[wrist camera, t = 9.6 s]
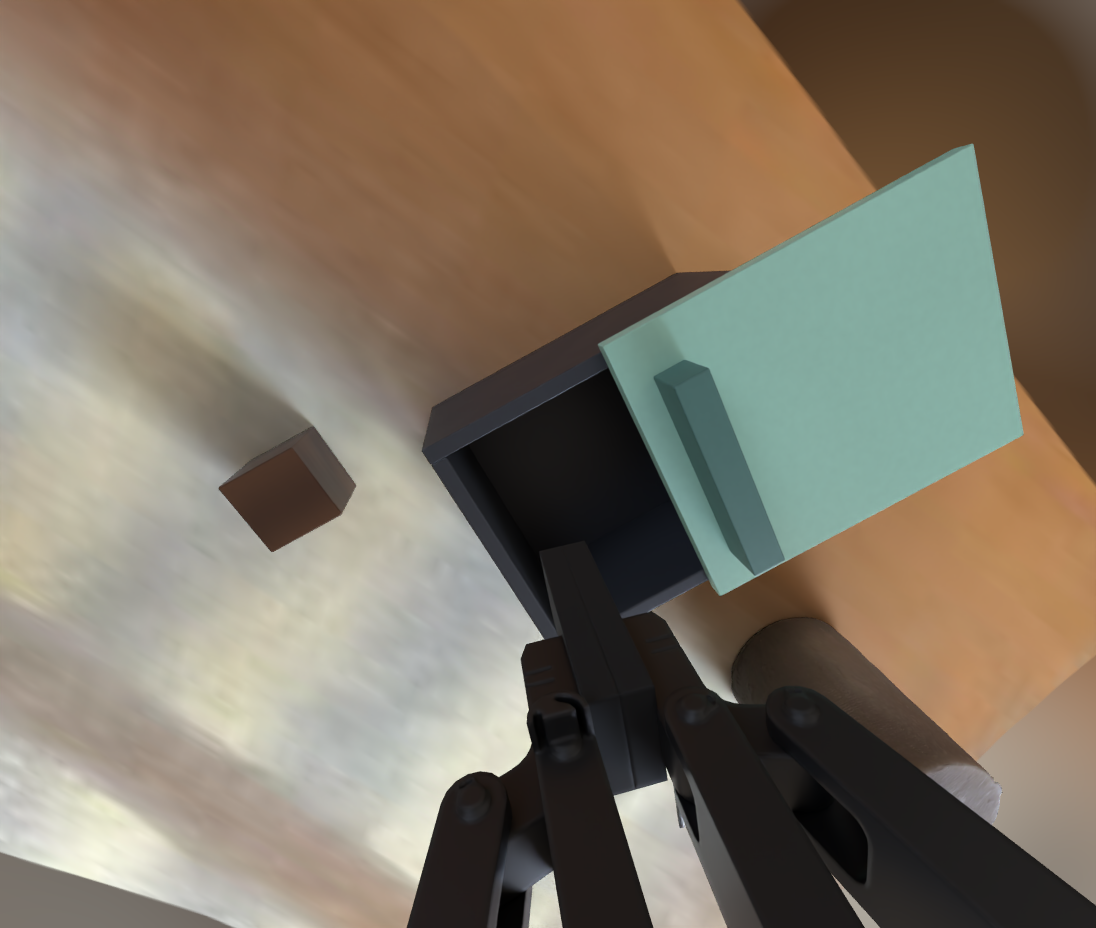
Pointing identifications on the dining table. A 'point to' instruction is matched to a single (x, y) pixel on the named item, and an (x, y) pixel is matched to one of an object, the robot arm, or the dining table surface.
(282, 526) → the block
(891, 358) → the lid
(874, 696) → the pillar candle
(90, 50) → the dining table surface
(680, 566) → the bin
